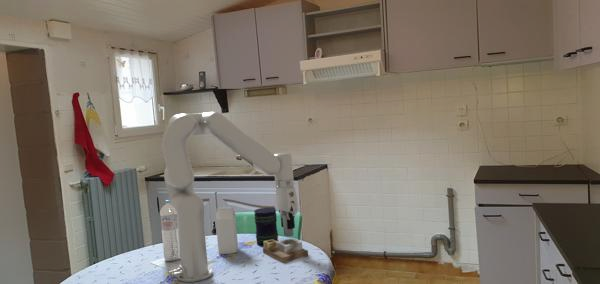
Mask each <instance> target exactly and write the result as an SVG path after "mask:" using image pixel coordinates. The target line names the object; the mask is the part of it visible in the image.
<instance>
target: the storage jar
mask: <svg viewBox="0 0 600 284" xmlns="http://www.w3.org/2000/svg"><path fill="white" fill-rule="evenodd" d="M276 211H277V208H275V207H260V208H256V209H255V210H254V211H253V213H254V224H255V228H256V229H255V230H256V231H255V239H256V245H257V246H259V247H264V243H263V241H267V240H271V239H274V240H276V241H279V240H278V239H279V233H278V229H277V228H278V227H277V217H278V216H277V212H276Z"/></svg>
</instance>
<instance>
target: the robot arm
mask: <svg viewBox="0 0 600 284" xmlns="http://www.w3.org/2000/svg"><path fill="white" fill-rule="evenodd" d="M199 135H201V136H202V135H211V136H212V137H213V138H214V139H215V140H217V141H218V142H219V143H221V144H222V145H223V146H225V147H226V148H227V149H229V150H230V151H231V152H232V153H234V154H236V155H237V156H241V157H242V158H245V159H246V160H248V161H250V162H251V163H252V166H253V169H254V170H255V171H256V172H258V173H259V174H263V175H268V176H274V185H275V202H276V203H275V204H276V210H278V213H279V217H280V222H281V223H280V224H281V225H280V226H281V228H283V217H282V213H281V211H284V212H287V218H288V220H287V229H293V230H294V229H295V228H296V226H295V225H296V224H295V223H296V222H295V218H296V217H295V216H296V215H297V214H298V210H299V205H298V198H297V193H296V192H297V191H296V187H295V180H294V171H293V169H294V168H293V167H294V166H293V158H292V157H293V156H292V154H291V153H289V152H277V153H273V152H271V150H269V149H267V147H265V146H264V145H262V144H261V143H260V142H258V141H256V139H254V138H253V137H251V136H250V135H248V134H247V133H245V132H244V131H243V130H241V129H240V128H239V127H238V126H236V125H235V124H234V123H233V122H232V121H231V120H230V119H228V118H227V117H226V116H224V114H222V113H220V112H218V111H208V112H198V113H197V112H196V113H195V112H194V113H179V114H178V113H177V114H174V115H172V116H171V118H169V121H168V124H167V127H166V130H165V132H164V134H163V136H162V142H161V146H162V153H163V156H164V162H165V165H166V167H165V169H164V170H163V171H164V172H163V177H164V182H165V186H166V189H167V193H168V198H169V200H170V204H172V207H173V208H174V209H175V210H176V211H177V225H178V237H179V248H180V264H178V267H177V268H176V269H171V270H168V271H167V274H168V277H172V276H174V277H177V279H178V280H179V281H180V282H184V283H185V282H186V283H191V282H193V283H194V282H199V281H204V280H205V279H208V278H209V277H211V276H212V275H213V273H214V271H213V269H212V268H211V267H209V263H208V253H207V242H206V234H205V233H206V232H205V204H204V201H203V199H202V197H201V195H199V194H198V193H197V192H195V189H194V186H193V183H194V181H195V172H194V169H193V166H192V163H191V159H190V156H189V155H190V154H189V150H188V142H189V139H190V137H191V136H199ZM290 210H291V211H290ZM289 213H291V214H290V215H289Z"/></svg>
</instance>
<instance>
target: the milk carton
mask: <svg viewBox="0 0 600 284" xmlns="http://www.w3.org/2000/svg"><path fill="white" fill-rule="evenodd" d="M236 220H237V219H236V213H235V210H234V207H233V206H231V207H230V206H228V207H218V208H217V207H216V216H215V225H216V236H217V238H216V239H217V249H218V255H222V254H225V255H226V254H236V253H237V250H238V248H239V245H238V241H239V240H238V233H237V229H238V228H237V221H236Z"/></svg>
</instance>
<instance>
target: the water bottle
mask: <svg viewBox="0 0 600 284" xmlns="http://www.w3.org/2000/svg"><path fill="white" fill-rule="evenodd" d="M164 202H165V204H164V205H163V206H162V207H161V209H160V210H159V215H160V223H161V224H160V225H161V236H162V247H163V258H164V261H166V262H167V261H173V262H177V261H179V260H181V258H180V248H179V237H178V225H177V211H176V210H175V209H174V208H173V207H172V204H171V201H170V199H167V200H166V199H165V201H164ZM176 260H177V261H176Z"/></svg>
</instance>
